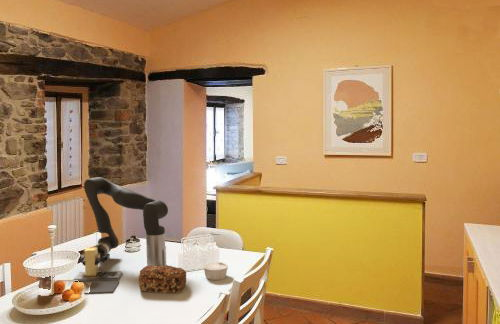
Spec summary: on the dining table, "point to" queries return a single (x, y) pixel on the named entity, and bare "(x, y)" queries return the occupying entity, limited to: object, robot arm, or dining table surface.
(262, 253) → the dining table surface
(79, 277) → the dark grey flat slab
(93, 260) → the pale yellow block
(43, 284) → the figurine
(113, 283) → the rubber mat
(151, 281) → the bread
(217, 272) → the ramekin
